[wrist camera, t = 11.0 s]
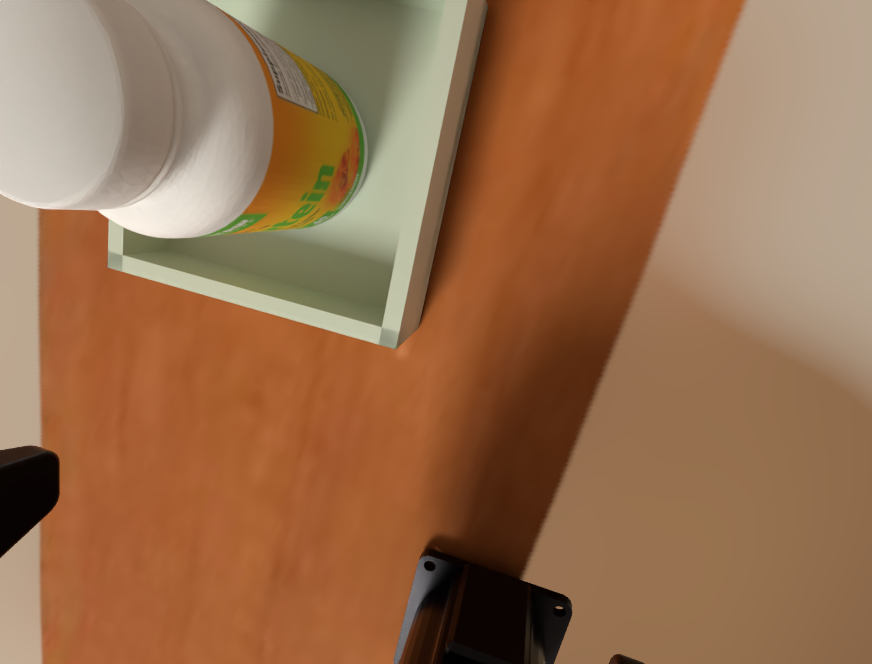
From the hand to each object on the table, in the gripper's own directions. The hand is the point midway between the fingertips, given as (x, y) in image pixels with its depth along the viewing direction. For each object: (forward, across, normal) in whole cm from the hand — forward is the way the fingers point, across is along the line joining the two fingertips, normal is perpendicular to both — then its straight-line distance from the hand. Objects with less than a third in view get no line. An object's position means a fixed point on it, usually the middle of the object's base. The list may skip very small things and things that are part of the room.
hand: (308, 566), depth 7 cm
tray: (+12, +7, -6) cm, 15 cm away
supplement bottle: (+11, +7, -6) cm, 15 cm away
